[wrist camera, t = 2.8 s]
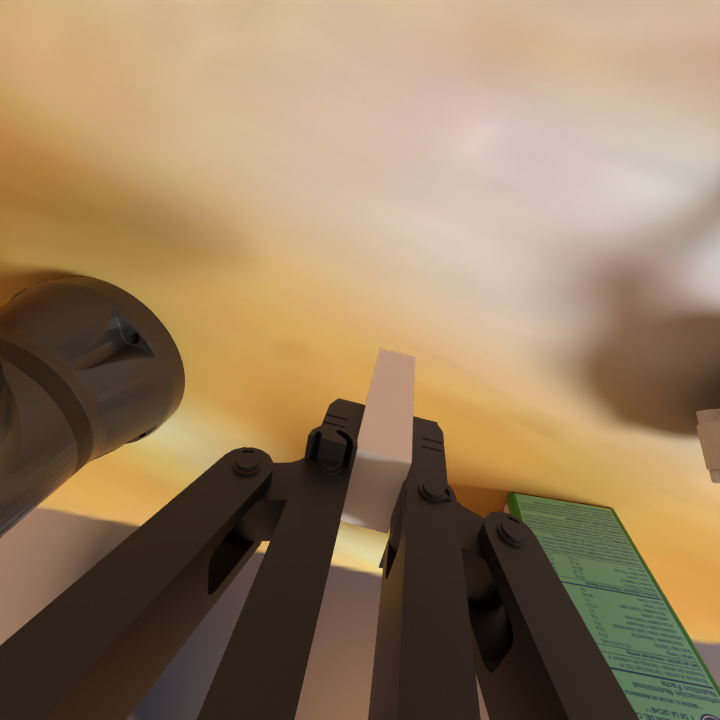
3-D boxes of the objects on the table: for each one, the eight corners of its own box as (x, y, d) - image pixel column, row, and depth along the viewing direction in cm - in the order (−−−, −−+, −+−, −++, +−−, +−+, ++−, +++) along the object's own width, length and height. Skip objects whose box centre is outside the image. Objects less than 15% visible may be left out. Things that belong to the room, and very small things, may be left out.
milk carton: (509, 491, 34) (686, 1093, 12) (614, 508, 33) (1022, 1188, 11) (485, 557, 38) (584, 1102, 16) (579, 574, 37) (824, 1172, 15)
